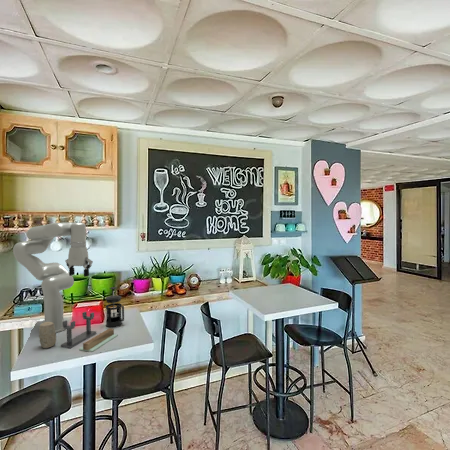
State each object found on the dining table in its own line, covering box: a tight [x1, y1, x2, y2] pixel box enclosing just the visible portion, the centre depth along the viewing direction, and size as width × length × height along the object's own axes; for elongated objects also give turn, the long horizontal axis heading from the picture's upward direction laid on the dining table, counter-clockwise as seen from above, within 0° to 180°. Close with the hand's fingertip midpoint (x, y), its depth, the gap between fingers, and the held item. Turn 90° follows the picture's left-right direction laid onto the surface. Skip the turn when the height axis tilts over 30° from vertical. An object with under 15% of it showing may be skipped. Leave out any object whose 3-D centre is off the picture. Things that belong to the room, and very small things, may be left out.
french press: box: [105, 286, 125, 329], centre depth 178 cm, size 12×9×23 cm
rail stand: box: [60, 311, 97, 349], centre depth 157 cm, size 6×19×12 cm, turn 165°
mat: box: [78, 333, 119, 353], centre depth 154 cm, size 8×20×1 cm, turn 165°
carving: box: [38, 322, 57, 349], centre depth 150 cm, size 6×8×12 cm
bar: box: [82, 328, 115, 350], centre depth 154 cm, size 3×20×3 cm, turn 165°
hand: (79, 275), depth 164 cm, fingers open, 9 cm apart
